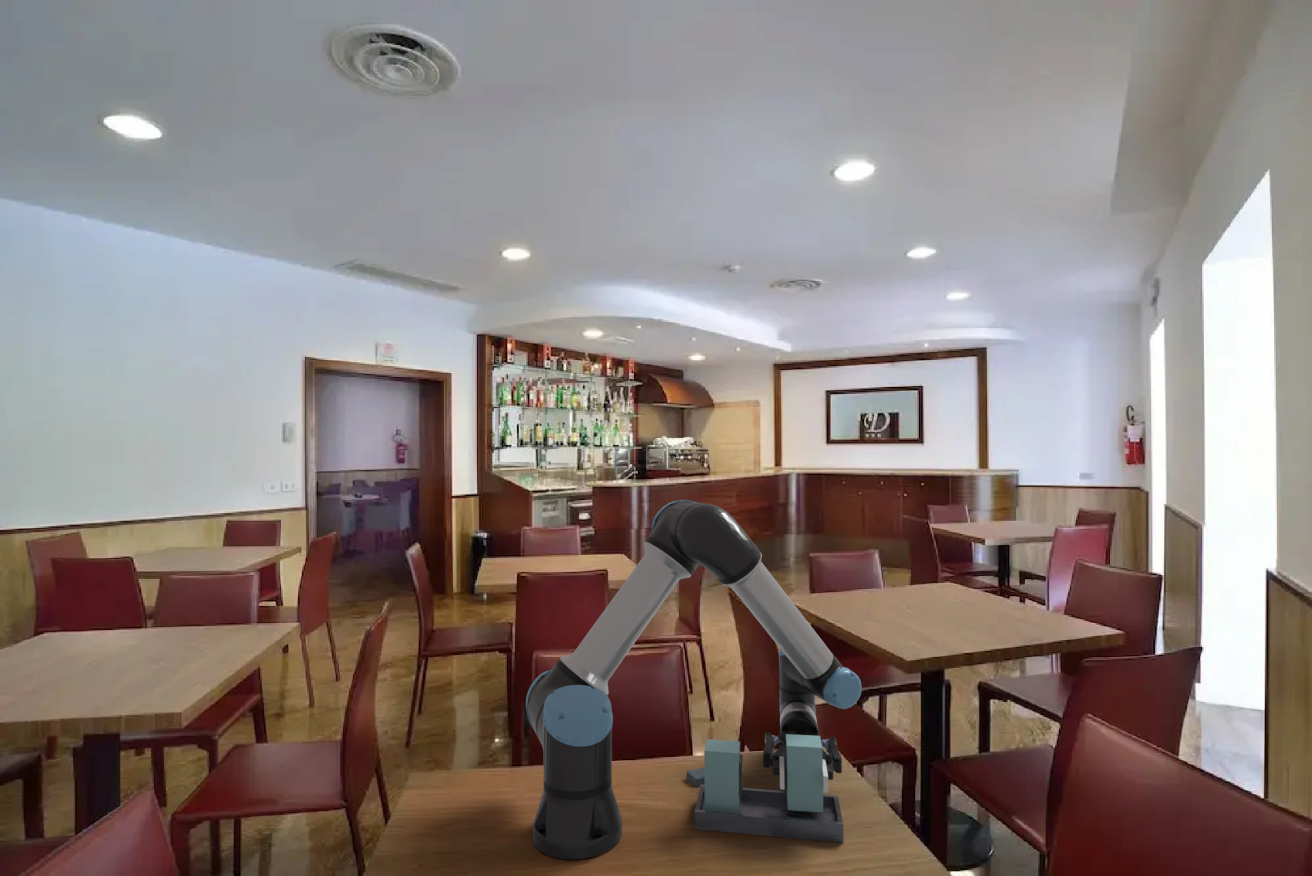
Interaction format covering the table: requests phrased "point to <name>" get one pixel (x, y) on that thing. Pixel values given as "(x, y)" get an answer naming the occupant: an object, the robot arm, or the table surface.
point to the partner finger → (723, 775)
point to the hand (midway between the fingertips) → (803, 782)
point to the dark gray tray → (773, 817)
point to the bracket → (696, 776)
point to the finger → (803, 773)
